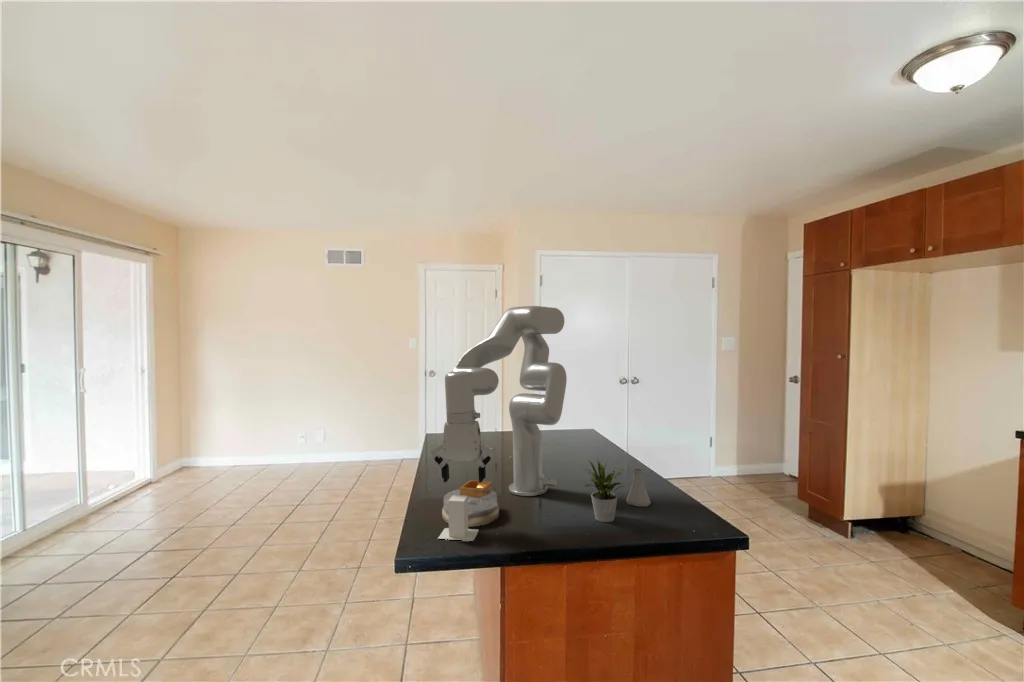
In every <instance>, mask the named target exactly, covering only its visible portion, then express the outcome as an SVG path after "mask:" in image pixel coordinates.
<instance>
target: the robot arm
mask: <svg viewBox="0 0 1024 682" xmlns="http://www.w3.org/2000/svg"><path fill="white" fill-rule="evenodd" d="M564 327H565V317H564V313H563V312H562V311H561V310H560V309H559V308H557V307H550V306H549V307H548V306H540V305H527V306H526V305H525V306H515V307H514V306H512V307H510V308H507V309H506V310H505V311H504V312H503V313H502V315H501V316H500V318H499V320H498V321H497V322H496V324H495V326H494V328H493V330H492V331H491V332H490V333H489V335H488V336H487V338H485V339H483V340H482V341H480V342H478V344H476V345H474V346H473V347H471V348H470V349H468V350H467V351H466V352H464V353H463V355H462V356H461V357H460V358H459V359H458V361H457V363H456V364H455V366H454V367H453V369H452V371H449V372H447V373H446V374H445V376H444V389H445V408H446V409H445V410H446V411H445V413H446V422H445V423H444V426H443V433H442V434H443V435H442V443H441V444H439V445H437V446H435V447H434V448H433V449H431V450H430V454H431V456H432V457H433V459H434V461H435V462H436V463H437V465H439V467H440V468H441V478H442V479H443V483H447V482H448V481H449V479H450V465H449V463H448V462H450V461H451V462H453V461H454V462H469V461H471V462H473V461H475V462H476V463H477V465H478V466H479V467H478V481H479V482H480V483H482V481H484V480H485V479H486V478H487V477H486V475H487V474H486V465H487V464H488V463H489V462H490V461H491V460H492V458H493V456H494V453H495V448H493V447H491V446H489V445H487V444H485V443H483V441H482V432H481V427H480V423H479V421H478V420H476V419H480V418H481V413H480V412H476V409H475V396H487V395H490V394H493V393H494V392H495V391H496V390H497V389H498V386H499V381H500V380H499V376H498V374H497V373H496V371H494V370H493V369H491V368H488V367H487V368H486V367H484V366H486V365H488V364H491V363H494V362H497V361H500V360H502V359H504V358H506V357H508V356H510V355H511V354H512V352H513V351H514V349H515V347H516V345H517V344H518V342H519V340H520V339H521V338H522V340H523V345H524V352H523V358H522V363H521V367H520V373H519V384H520V386H521V387H522V389H525V390H528V391H535V392H536V391H537V392H545V394H540V393H529V392H528V393H518V394H515V395H514V396H513V397H512V398H511V399H510V401H509V406H508V412H509V417H510V421H511V422H510V423H511V429H512V458H513V459H512V460H513V463H512V465H513V466H512V467H513V470H512V471H513V472H512V473H513V482H512V483H511V484H510V485H509V486H508V491H509V492H510V493H511V494H513V495H516V496H521V497H534V496H539V495H543V494H545V493H546V492H547V491H548V486H549V487H557V480H556V479H553V478H552V477H551V478H546V477H545V473H543V436H542V432H541V429H540V428H539V426H538V425H543V426H554V425H556V424H558V422H559V421H560V419H561V416H562V414H563V413H562V412H563V406H564V402H565V401H564V400H565V394H566V387H567V382H568V381H567V372H566V369H565V366H563V365H562V364H560V363H558V362H549V356H550V348H549V345H548V343H547V341H546V340H545V338H544V337H543V336H542V335H555V334H556V335H557V334H558V333H560V332H561V331H562V330H563V329H564ZM440 451H442V456H441V455H439V452H440ZM483 451H484V452H486V453H487V455H486V457H483V456H482V455H483Z"/></svg>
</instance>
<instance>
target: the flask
mask: <svg viewBox="0 0 1024 682" xmlns="http://www.w3.org/2000/svg"><path fill="white" fill-rule="evenodd" d="M644 471H645V470H644V469H643V468H641V467H640V468H639V467H635V468H632V472H633V475H632V476H633V477H632V483H631V484H630V489H629V490H628V493H627V496H626V499H625V501H626V503H627V504H628V505H631V506H635V507H648V506H650V505H651V504H652V502H651V499H650V496H649V493H648V491H647V489H646V485H645V482H644V475H643V473H644Z"/></svg>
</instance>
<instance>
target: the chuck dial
mask: <svg viewBox="0 0 1024 682" xmlns="http://www.w3.org/2000/svg"><path fill="white" fill-rule="evenodd" d="M492 489H493V482H492V481H485V480H483V481H482V483H480V482H479V480H474V479H469V480H468V481H467V482H465V483H464V484H462V485H461V486H460V487H459V488H457V489H454V490H452V491H449V492H447V493H446V494H444V496H443V507H444V511H445V512H446V513H447V514H449V511H448V501H449V499H450V498H451V497H452V495H463V496H468V518H471V517H479V516H484V515H487V514H489V513H492V512H493V511H495V510H496V508H497V504H498V495H497V493H496V491H494V490H492Z"/></svg>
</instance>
